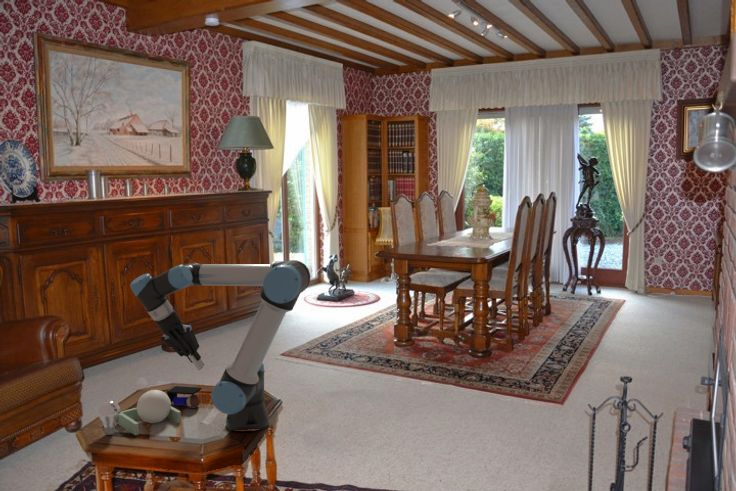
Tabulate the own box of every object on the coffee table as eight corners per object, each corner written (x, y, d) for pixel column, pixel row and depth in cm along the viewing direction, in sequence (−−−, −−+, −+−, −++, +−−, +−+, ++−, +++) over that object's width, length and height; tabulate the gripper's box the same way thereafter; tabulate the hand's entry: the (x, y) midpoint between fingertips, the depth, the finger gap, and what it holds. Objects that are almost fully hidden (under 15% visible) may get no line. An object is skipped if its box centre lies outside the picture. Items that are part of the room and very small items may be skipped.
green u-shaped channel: (181, 422, 223) (180, 411, 222) (135, 435, 211) (135, 424, 210) (161, 411, 233) (161, 401, 232) (117, 423, 220) (117, 412, 220)
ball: (182, 401, 226) (162, 397, 232) (162, 385, 218) (141, 382, 224) (166, 430, 219) (145, 426, 226) (145, 416, 212) (124, 411, 218)
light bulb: (112, 440, 207) (111, 405, 205) (94, 438, 208) (93, 403, 207) (124, 432, 213) (124, 398, 212) (106, 430, 215) (105, 396, 213)
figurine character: (159, 411, 237) (195, 410, 233) (157, 391, 236) (193, 391, 233) (169, 404, 244) (204, 404, 240) (167, 385, 243) (202, 385, 239)
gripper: (144, 327, 210) (182, 379, 218) (174, 315, 206) (212, 369, 214) (154, 314, 217) (191, 366, 225) (183, 303, 213) (220, 355, 221)
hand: (201, 367), depth 219 cm, fingers closed
